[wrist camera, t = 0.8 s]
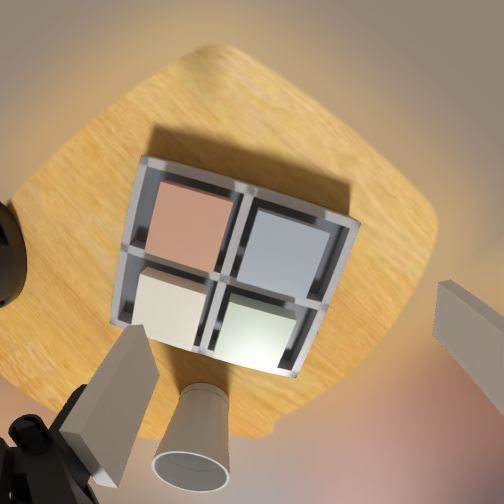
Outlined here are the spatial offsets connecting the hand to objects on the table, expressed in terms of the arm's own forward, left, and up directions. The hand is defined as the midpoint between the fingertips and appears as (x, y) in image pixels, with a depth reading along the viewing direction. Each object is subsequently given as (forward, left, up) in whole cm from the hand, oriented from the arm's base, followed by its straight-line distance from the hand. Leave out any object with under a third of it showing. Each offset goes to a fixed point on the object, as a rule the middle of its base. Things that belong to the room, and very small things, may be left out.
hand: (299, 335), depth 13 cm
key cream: (-8, -8, -15) cm, 19 cm away
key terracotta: (-8, 0, -15) cm, 17 cm away
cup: (-2, -23, -20) cm, 30 cm away
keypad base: (-4, -4, -19) cm, 20 cm away
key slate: (0, 0, -15) cm, 15 cm away
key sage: (0, -8, -15) cm, 17 cm away
